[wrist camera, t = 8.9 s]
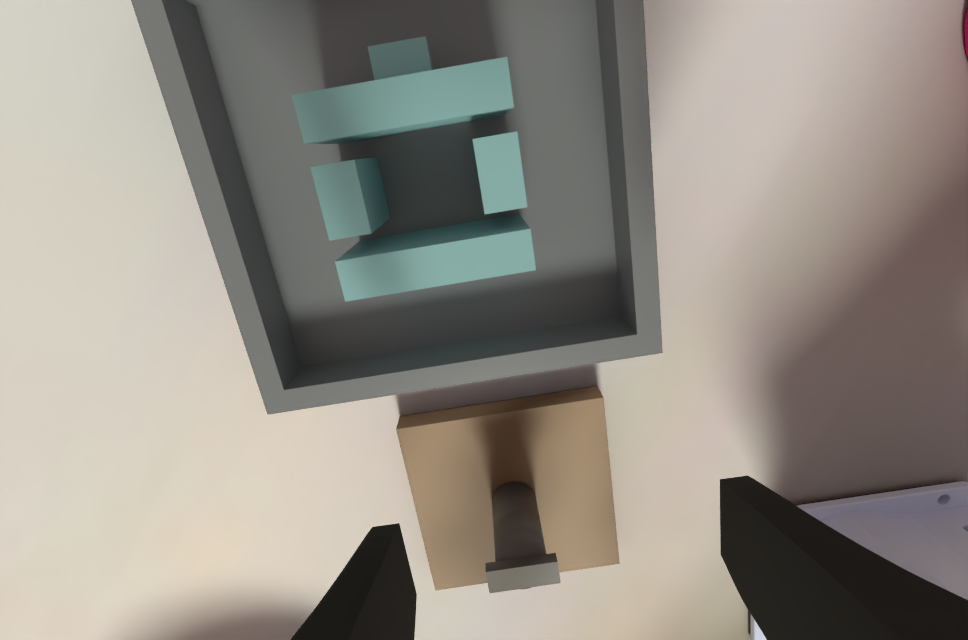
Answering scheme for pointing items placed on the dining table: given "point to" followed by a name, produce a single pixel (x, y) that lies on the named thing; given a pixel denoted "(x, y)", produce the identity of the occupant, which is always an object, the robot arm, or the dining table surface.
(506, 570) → the stake board
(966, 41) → the pepper mill
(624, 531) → the dining table surface
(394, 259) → the collar
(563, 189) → the tray
